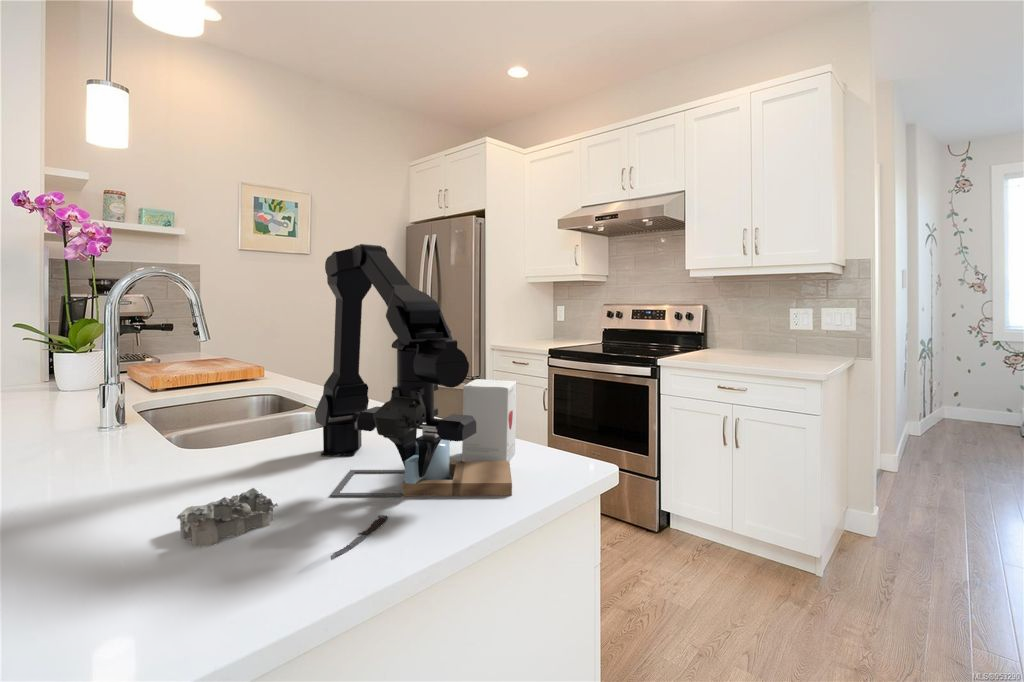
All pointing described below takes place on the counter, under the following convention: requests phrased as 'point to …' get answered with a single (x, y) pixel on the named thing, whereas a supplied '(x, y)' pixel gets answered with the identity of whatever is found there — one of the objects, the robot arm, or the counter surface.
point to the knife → (362, 536)
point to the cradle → (467, 480)
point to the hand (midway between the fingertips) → (416, 475)
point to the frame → (345, 480)
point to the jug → (430, 465)
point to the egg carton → (225, 518)
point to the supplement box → (490, 420)
